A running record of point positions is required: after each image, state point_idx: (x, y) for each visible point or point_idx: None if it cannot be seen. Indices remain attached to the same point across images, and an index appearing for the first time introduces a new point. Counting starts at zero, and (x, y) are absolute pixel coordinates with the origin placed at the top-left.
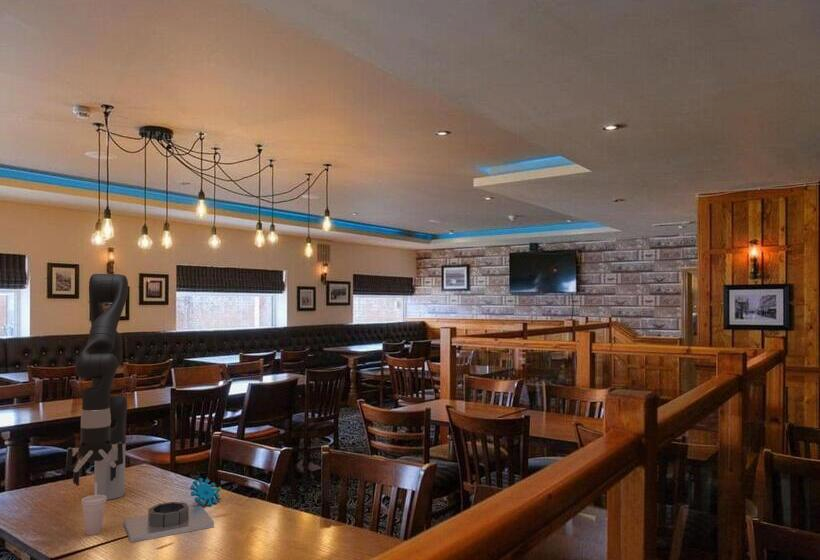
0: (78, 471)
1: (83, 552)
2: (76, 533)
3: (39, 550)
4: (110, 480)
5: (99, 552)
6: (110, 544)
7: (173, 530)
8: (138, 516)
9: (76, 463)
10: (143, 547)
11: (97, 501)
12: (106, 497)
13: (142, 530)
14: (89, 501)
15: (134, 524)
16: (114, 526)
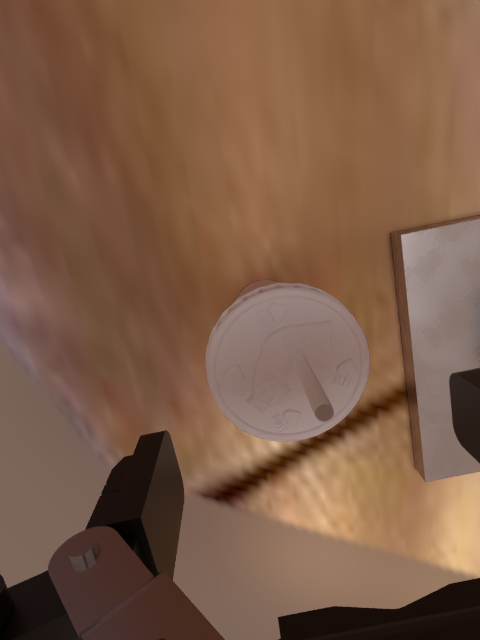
0: (148, 566)
1: (255, 505)
2: (191, 291)
3: (86, 440)
4: (458, 439)
5: (310, 521)
6: (343, 461)
7: None
8: (473, 224)
9: (71, 624)
10: (456, 521)
11: (314, 429)
12: (367, 360)
13: None
14: (266, 436)
15: (447, 339)
16: (350, 253)
